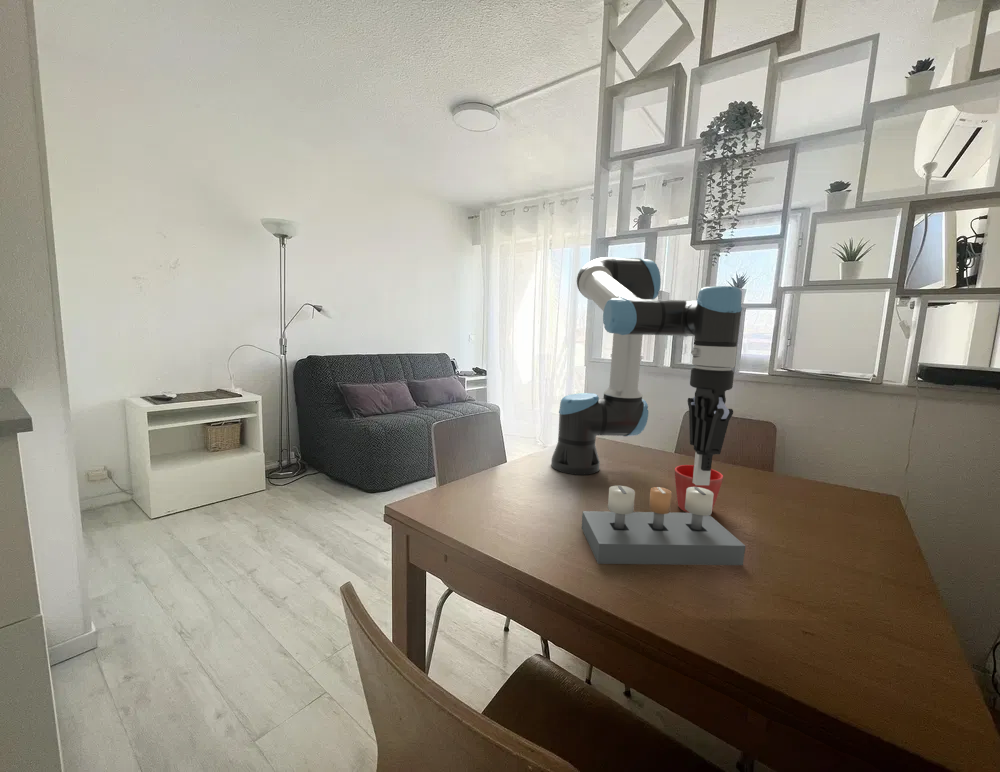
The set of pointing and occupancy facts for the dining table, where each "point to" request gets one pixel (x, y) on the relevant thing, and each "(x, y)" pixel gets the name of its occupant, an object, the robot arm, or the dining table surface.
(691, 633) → the dining table surface
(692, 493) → the knob
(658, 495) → the pot knob
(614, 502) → the knob
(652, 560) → the control box
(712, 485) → the flower pot
